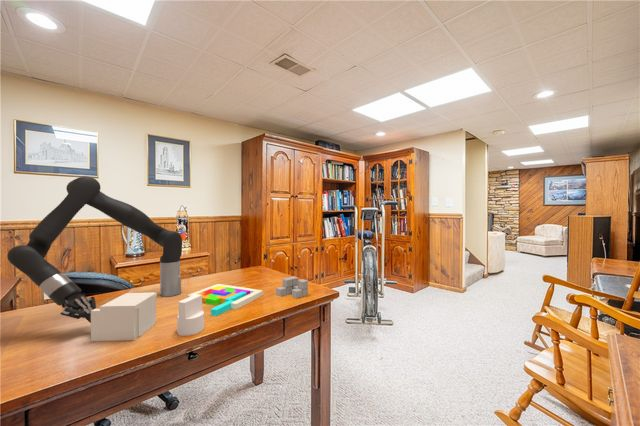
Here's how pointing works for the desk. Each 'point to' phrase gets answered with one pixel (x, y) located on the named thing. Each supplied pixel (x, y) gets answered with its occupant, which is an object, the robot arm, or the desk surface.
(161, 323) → the desk surface
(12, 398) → the desk surface
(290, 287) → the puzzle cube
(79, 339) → the desk surface
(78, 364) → the desk surface
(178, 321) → the cylinder with rectangular tab
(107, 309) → the cream slotted block
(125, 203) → the robot arm
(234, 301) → the puzzle game
